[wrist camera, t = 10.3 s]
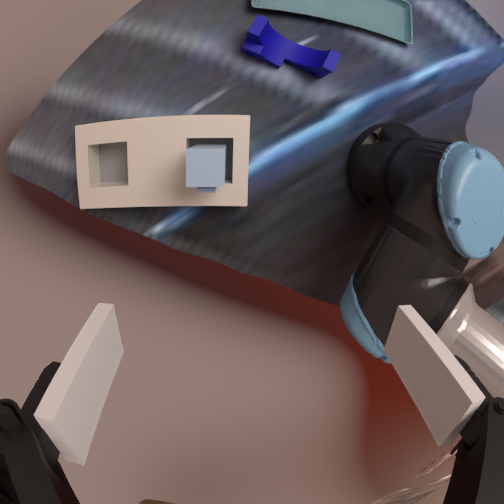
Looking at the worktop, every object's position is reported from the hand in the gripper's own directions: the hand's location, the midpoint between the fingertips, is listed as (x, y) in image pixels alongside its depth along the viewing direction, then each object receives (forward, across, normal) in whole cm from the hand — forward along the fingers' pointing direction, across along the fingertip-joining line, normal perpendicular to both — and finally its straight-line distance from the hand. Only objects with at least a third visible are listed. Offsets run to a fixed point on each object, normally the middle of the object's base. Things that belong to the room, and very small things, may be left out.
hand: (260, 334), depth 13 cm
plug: (+33, +4, -5) cm, 33 cm away
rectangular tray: (+35, -13, -32) cm, 49 cm away
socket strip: (+34, +11, -4) cm, 36 cm away
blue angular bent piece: (+34, -6, -20) cm, 40 cm away
